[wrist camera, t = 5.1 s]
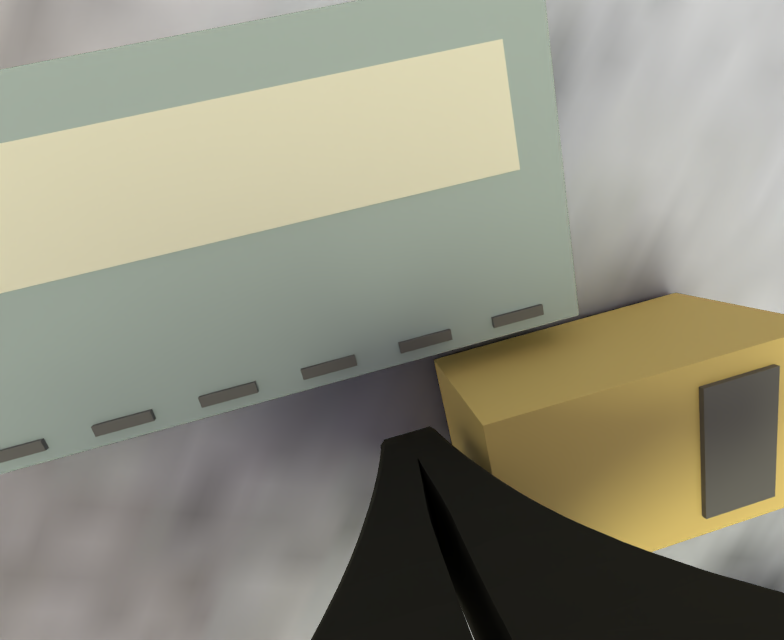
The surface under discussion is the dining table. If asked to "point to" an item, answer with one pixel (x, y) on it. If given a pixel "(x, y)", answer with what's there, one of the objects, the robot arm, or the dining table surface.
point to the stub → (632, 417)
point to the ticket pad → (271, 213)
